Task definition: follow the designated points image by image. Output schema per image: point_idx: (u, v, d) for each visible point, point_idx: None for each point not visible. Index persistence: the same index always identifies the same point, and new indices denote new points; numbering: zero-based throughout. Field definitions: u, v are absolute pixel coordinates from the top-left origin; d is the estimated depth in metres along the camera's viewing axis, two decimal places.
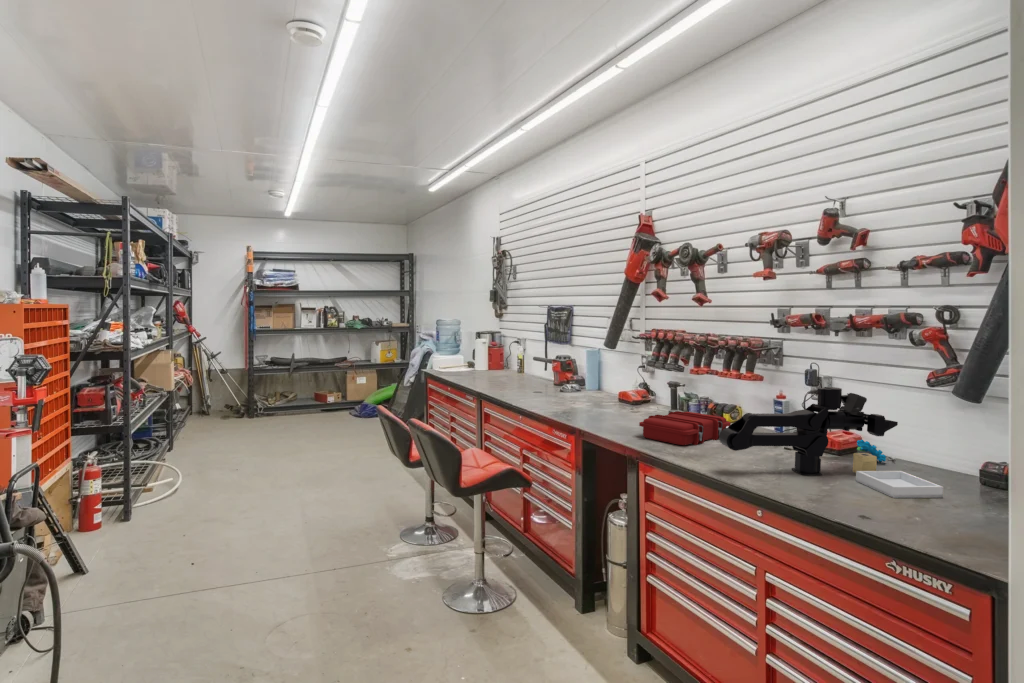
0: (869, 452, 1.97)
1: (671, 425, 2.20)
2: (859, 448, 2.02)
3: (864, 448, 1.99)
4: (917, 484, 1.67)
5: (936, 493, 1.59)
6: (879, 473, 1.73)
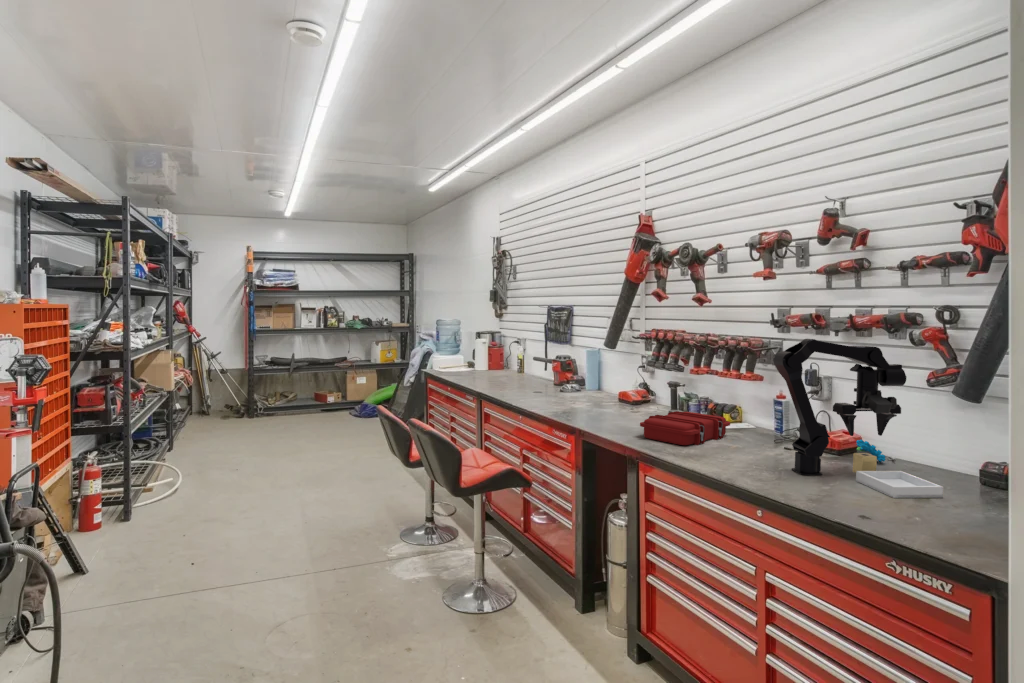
0: (868, 452, 1.97)
1: (673, 425, 2.20)
2: (859, 448, 2.02)
3: (864, 448, 1.99)
4: (917, 484, 1.67)
5: (936, 493, 1.59)
6: (879, 473, 1.73)
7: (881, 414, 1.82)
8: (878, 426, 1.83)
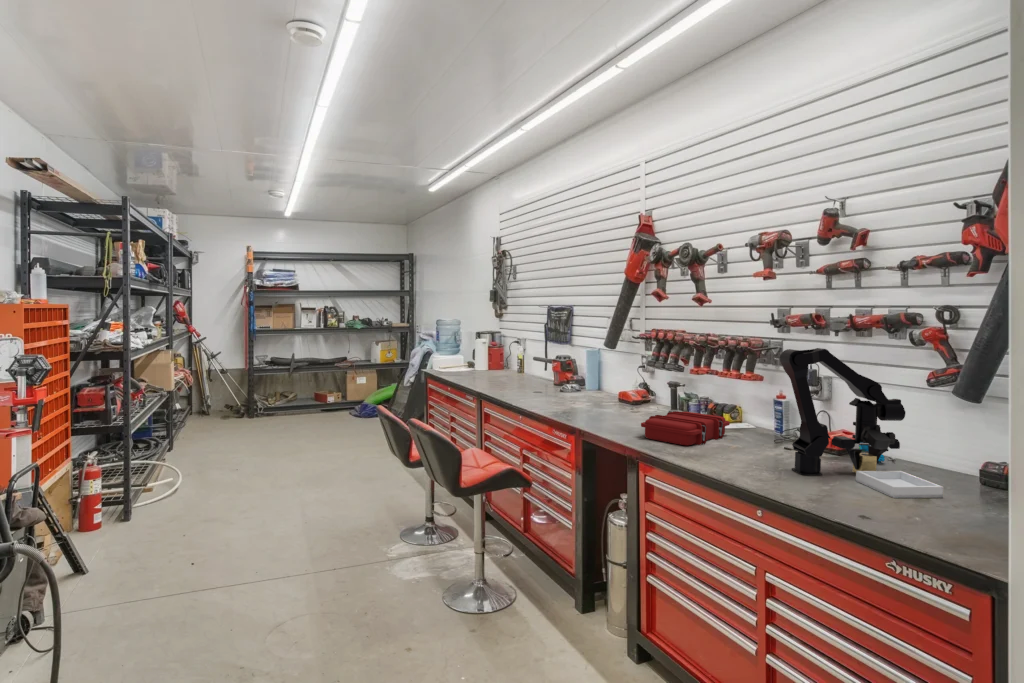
0: (868, 452, 1.97)
1: (675, 425, 2.20)
2: None
3: (863, 448, 1.99)
4: (917, 484, 1.67)
5: (936, 493, 1.59)
6: (879, 473, 1.73)
7: (873, 448, 1.82)
8: None
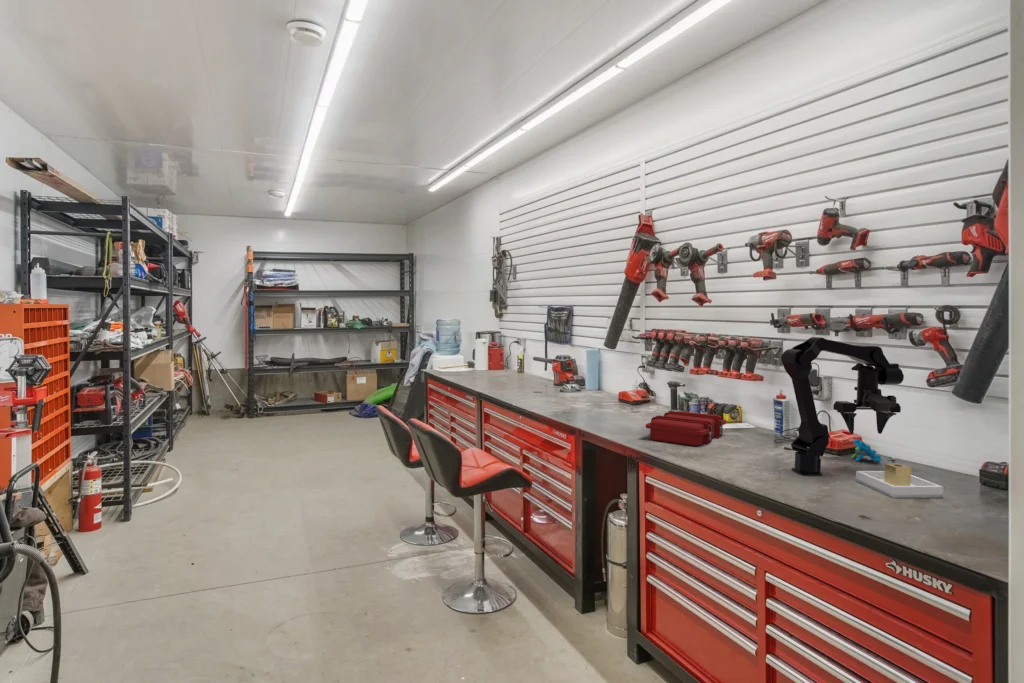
0: (864, 452, 1.97)
1: (684, 426, 2.19)
2: (857, 448, 2.03)
3: (861, 448, 1.99)
4: (917, 484, 1.67)
5: (936, 493, 1.59)
6: (879, 473, 1.73)
7: (881, 413, 1.85)
8: (878, 424, 1.86)
